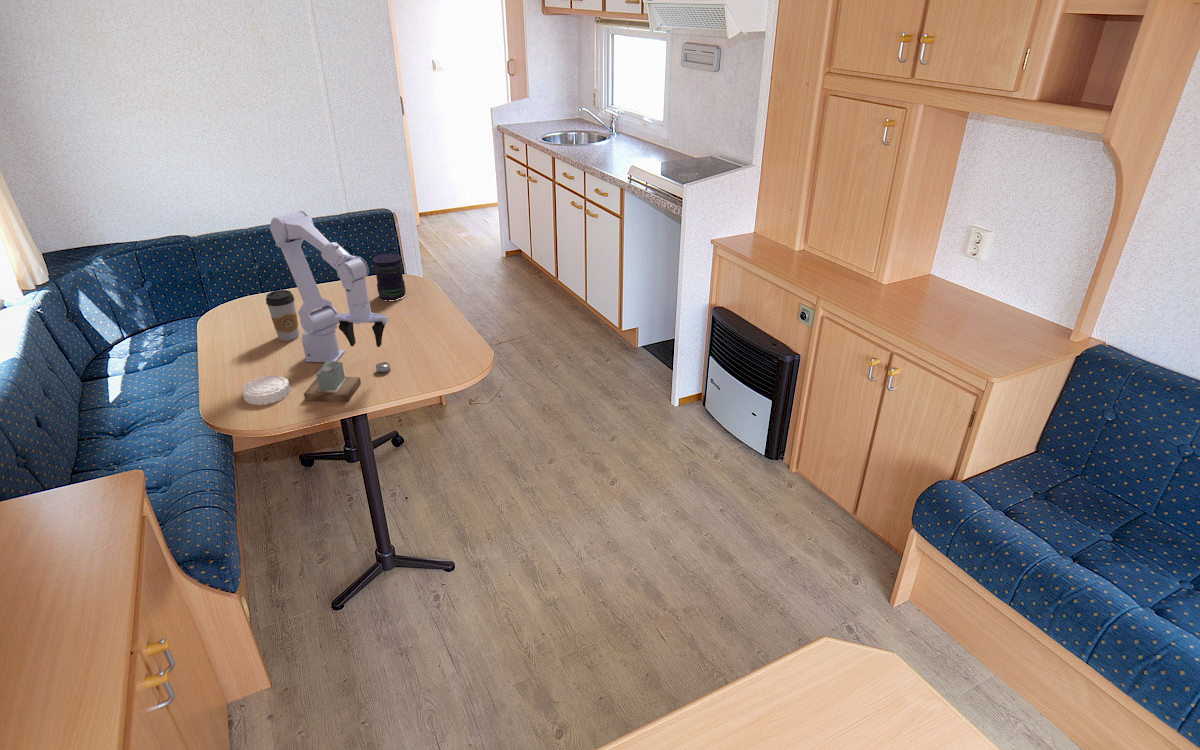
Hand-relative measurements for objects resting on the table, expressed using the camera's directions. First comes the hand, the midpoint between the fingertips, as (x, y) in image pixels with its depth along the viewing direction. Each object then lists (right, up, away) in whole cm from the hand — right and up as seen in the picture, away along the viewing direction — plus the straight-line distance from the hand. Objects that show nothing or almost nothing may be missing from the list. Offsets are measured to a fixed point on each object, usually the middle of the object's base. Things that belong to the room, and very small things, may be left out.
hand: (366, 345), depth 197 cm
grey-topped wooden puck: (+3, -7, +6) cm, 10 cm away
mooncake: (-26, -14, -6) cm, 30 cm away
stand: (-7, -13, -5) cm, 16 cm away
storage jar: (-9, +20, +57) cm, 61 cm away
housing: (-7, -11, -6) cm, 15 cm away
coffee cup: (-34, +4, +26) cm, 43 cm away
